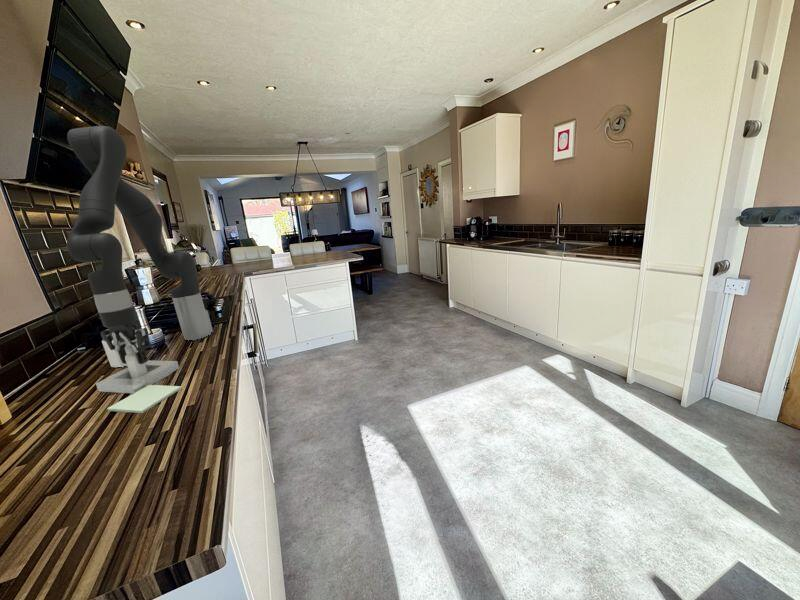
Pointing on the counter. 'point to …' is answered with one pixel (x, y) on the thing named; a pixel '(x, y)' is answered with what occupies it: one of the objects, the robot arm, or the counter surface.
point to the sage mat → (144, 399)
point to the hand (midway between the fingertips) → (135, 362)
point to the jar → (113, 354)
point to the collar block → (125, 384)
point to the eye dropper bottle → (134, 364)
